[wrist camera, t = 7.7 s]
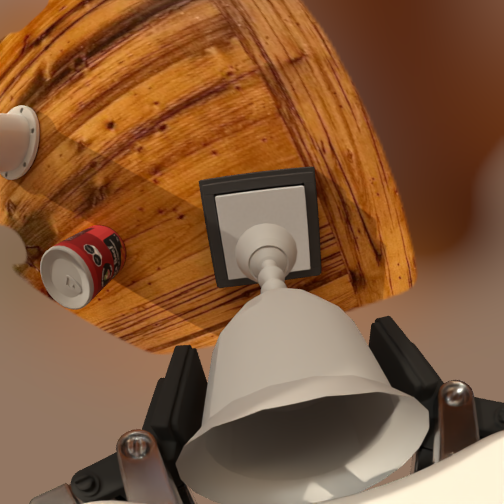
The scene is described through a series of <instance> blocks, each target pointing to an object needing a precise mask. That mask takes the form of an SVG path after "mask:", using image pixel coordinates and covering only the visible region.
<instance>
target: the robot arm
mask: <svg viewBox="0 0 504 504" xmlns="http://www.w3.org/2000/svg"><path fill="white" fill-rule="evenodd" d="M39 135H40V133H39V122H38V118H37V115H36V114H35V112H34V111H33V110H32V109H31V108H30V107H28V106H17V107H15V108H13V109H12V110H10V111H9V112H8V113H7V114H4V113H0V174H1V175H2V176H3V177H4V178H6V179H8V180H14V179H18V178H20V177H22V176H23V175H24V174H25V173H26V172H27V171H28V170H29V168H30V167H31V165H32V163H33V161H34V158H35V156H36V152H37V149H38V144H39ZM369 348H370V350H371V352H372V353H373V355H374V357H375V358H376V360H377V362H378V364H379V365H380V367H381V369H382V371H383V372H384V374H385V376H386V378H387V380H388V381H389V383H390V385H391V387H392V388H395V389H397V390H399V391H401V392H403V393H405V394H408V395H410V396H412V397H414V398H415V399H416V400H417V401H419V402H420V403H421V404H422V405H423V406H424V407H425V408H426V409H427V410H428V411H429V430H428V432H427V434H426V436H425V438H424V440H423V442H422V444H421V445H420V447H419V448H418V449H417V451H416V452H415V453H414V454H413V455H412V463H411V471H410V475H409V476H406V477H404V478H401V479H399V480H396V481H393V482H391V483H388V484H385V485H382V486H379V487H376V488H373V489H369V490H366V491H363V492H359V493H356V494H352V495H348V496H344V497H340V498H336V499H332V500H327V501H322V502H317V503H311V504H504V403H502V402H496V401H491V400H486V399H481V398H476V397H474V394H473V391H472V389H471V387H470V386H469V385H468V384H466V383H465V382H463V381H460V380H451V381H448V382H446V383H443V381H442V380H441V379H440V377H439V376H438V375H437V373H436V372H435V371H434V369H433V368H432V367H431V365H430V364H429V363H428V361H427V360H426V359H425V357H424V356H423V355H422V353H421V352H420V351H419V349H418V348H417V347H416V346H415V345H414V344H413V343H412V342H410V340H409V339H408V338H407V337H406V335H405V334H404V333H403V331H402V330H401V329H400V328H399V326H398V325H397V324H396V323H395V322H394V320H393V319H392V318H391V317H390V316H386V317H382V318H377V319H376V320H375V323H372V325H371V332H370V340H369ZM207 385H208V383H207V380H206V377H205V374H204V371H203V368H202V365H201V362H200V359H199V356H198V353H197V350H196V348H192V347H191V345H181V346H176V347H175V349H174V352H173V355H172V358H171V361H170V364H169V367H168V370H167V373H166V376H165V378H160V379H159V380H158V382H157V386H156V388H155V391H154V394H153V397H152V401H151V403H150V406H149V409H148V412H147V415H146V419H145V422H144V425H143V428H142V430H140V429H137V430H131V431H128V432H126V433H125V434H123V435H122V436H121V437H120V439H119V440H118V442H117V445H116V450H117V452H116V453H114V454H112V455H110V456H108V457H106V458H105V459H102V460H100V461H98V462H96V463H94V464H92V465H91V466H88V467H86V468H84V469H82V470H80V471H78V472H77V473H75V475H74V476H73V477H72V480H71V484H70V485H68V484H67V483H65V484H63V485H61V486H58V487H56V488H54V489H52V490H50V491H48V492H45V493H43V494H41V495H39V496H36V497H34V498H33V499H32V500H31V501H30V503H29V504H197V502H196V500H195V498H194V496H193V494H192V492H191V490H190V487H189V486H188V485H186V484H185V483H184V482H183V481H182V480H181V478H180V476H179V473H178V470H177V467H176V462H177V459H178V457H179V455H180V453H181V451H182V449H183V447H184V445H185V444H186V443H187V442H188V441H189V440H190V439H191V438H192V437H193V436H194V435H195V434H196V433H197V432H198V430H199V429H200V428H201V426H202V419H203V412H204V405H205V398H206V391H207Z"/></svg>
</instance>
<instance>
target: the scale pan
mask: <svg viewBox="0 0 504 504" xmlns="http://www.w3.org/2000/svg"><path fill="white" fill-rule="evenodd" d="M215 200H216V207H217V213H218V220H219V226H220V232H221V238H222V244H223V250H224V256H225V262H226V268H227V274H228V279H229V280H230V279H239V278H247V276H245V275H244V274H243V273H242V272H241V270H240V269H239V267H238V265H237V262H236V258H235V250H236V245H237V243H238V240H239V238H240V237H241V236H242V235H243V234H244V232H245V231H246V230H248V229H250V228H251V227H253V226H255V225H259V224H263V223H268V224H276V225H278V226H280V227H283V228H285V229H286V230H287V231H288V232H289V233H290V234H291V235H292V237H293V239H294V240H295V242H296V246H297V259H296V263H295V265H294V267H293V269H292V270H291V271H290V272H293V271H300V270H308V269H310V252H309V237H308V224H307V211H306V200H305V189H304V186H302V185H299V186H289V187H280V188H271V189H263V190H255V191H247V192H239V193H232V194H225V195H218V196H216V197H215Z"/></svg>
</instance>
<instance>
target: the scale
mask: <svg viewBox="0 0 504 504" xmlns="http://www.w3.org/2000/svg"><path fill="white" fill-rule="evenodd" d="M299 185H302V186H304V189H305V200H306V211H307V224H308V237H309V252H310V269H308V270H300V271H293V272H289V274H288V275H287V276H286V277H285V280H288V279H295V278H302V277H310V276H317V275H320V274H321V252H320V233H319V218H318V204H317V192H316V181H315V171H314V167H301V168H290V169H280V170H271V171H262V172H254V173H246V174H238V175H231V176H224V177H218V178H211V179H205V180H200V181H199V186H200V192H201V199H202V205H203V211H204V217H205V223H206V229H207V234H208V240H209V246H210V251H211V257H212V262H213V267H214V273H215V278H216V283H217V287H219V288H224V287H233V286H241V285H249V284H257V283H258V282H255V281H253V280H251V279H249V278H248V277H247V278H239V279H230V280H229V279H228V274H227V268H226V262H225V256H224V250H223V244H222V238H221V232H220V226H219V220H218V213H217V207H216V200H215V197H216V196H218V195H225V194H232V193H239V192H247V191H255V190H263V189H271V188H280V187H289V186H299Z"/></svg>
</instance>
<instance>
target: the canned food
mask: <svg viewBox="0 0 504 504" xmlns="http://www.w3.org/2000/svg"><path fill="white" fill-rule="evenodd" d="M125 259H126V250H125V246H124V243H123V241H122V239H121V238H120V236H119V235H118V234H117V233H116V232H115V231H114V230H112V229H111V228H109V227H106V226H99V225H96V226H92V227H89V228H87V229H85V230H83V231H81V232H79V233H77V234H75V235H74V236H72V237H70V238H68V239H66V240H64V241H62V242H60V243H58V244H56V245H55V246H53V247H51V248H50V249H49V250H47V251H46V252H45V253H44V255H43V257H42V260H41V265H40V271H41V277H42V280H43V283H44V285H45V287H46V289H47V291H48V292H49V294H50V295H51V296H52V297H53V299H54V300H56V301H57V302H58V303H59V304H61V305H62V306H64V307H66V308H69V309H80V308H83V307H84V306H86V305H87V304H88V303H89V302H90V301H91V300H92V299H93V298H94V297H95V296H96V295H97V294H98V293H99V292H100V291H101V290H102V289H103V288H104V287H105V286H106V285H107V284H108V283H109V282H110V281H111V280H112V279H113V278H114V277H115V276H116V275H117V274H118V273H119V272H120V271H121V269H122V268H123V266H124V262H125Z"/></svg>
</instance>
